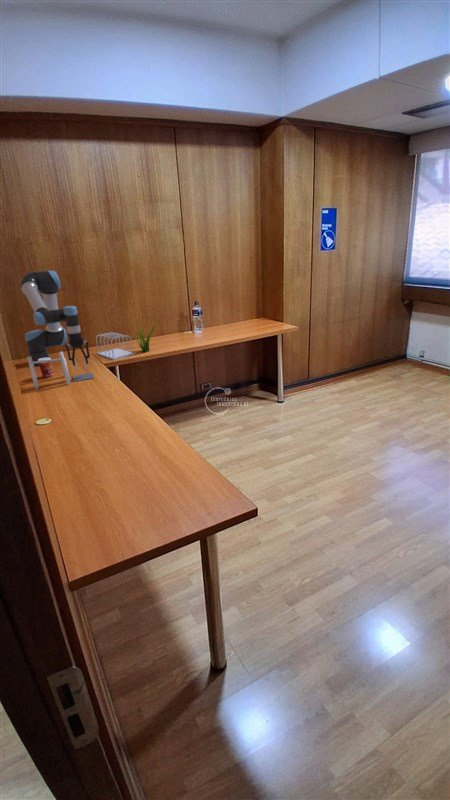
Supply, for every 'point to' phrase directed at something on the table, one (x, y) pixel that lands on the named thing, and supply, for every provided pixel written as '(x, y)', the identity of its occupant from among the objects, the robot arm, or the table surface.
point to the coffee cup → (46, 368)
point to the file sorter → (116, 352)
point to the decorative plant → (145, 343)
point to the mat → (83, 377)
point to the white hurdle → (62, 359)
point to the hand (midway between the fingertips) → (81, 369)
